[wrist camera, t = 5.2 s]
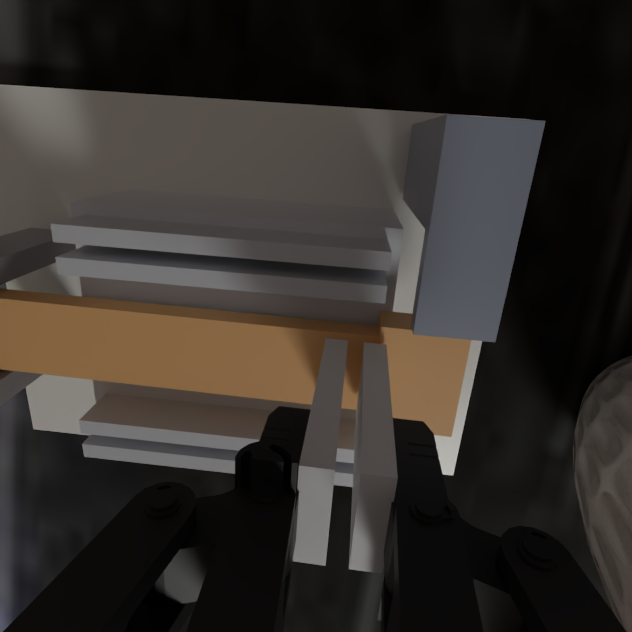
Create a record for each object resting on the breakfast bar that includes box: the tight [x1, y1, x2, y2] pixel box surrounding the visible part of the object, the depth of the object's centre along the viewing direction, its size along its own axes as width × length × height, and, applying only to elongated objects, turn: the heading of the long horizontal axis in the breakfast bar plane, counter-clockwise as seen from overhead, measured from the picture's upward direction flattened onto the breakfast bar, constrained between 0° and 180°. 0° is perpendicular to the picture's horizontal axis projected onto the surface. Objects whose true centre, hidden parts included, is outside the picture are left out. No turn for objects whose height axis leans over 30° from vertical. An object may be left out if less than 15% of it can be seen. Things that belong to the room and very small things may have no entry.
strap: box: [0, 288, 471, 437], centre depth 17 cm, size 19×4×2 cm, turn 86°
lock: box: [403, 114, 546, 342], centre depth 16 cm, size 2×6×8 cm, turn 177°
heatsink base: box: [0, 84, 530, 487], centre depth 20 cm, size 24×18×8 cm
